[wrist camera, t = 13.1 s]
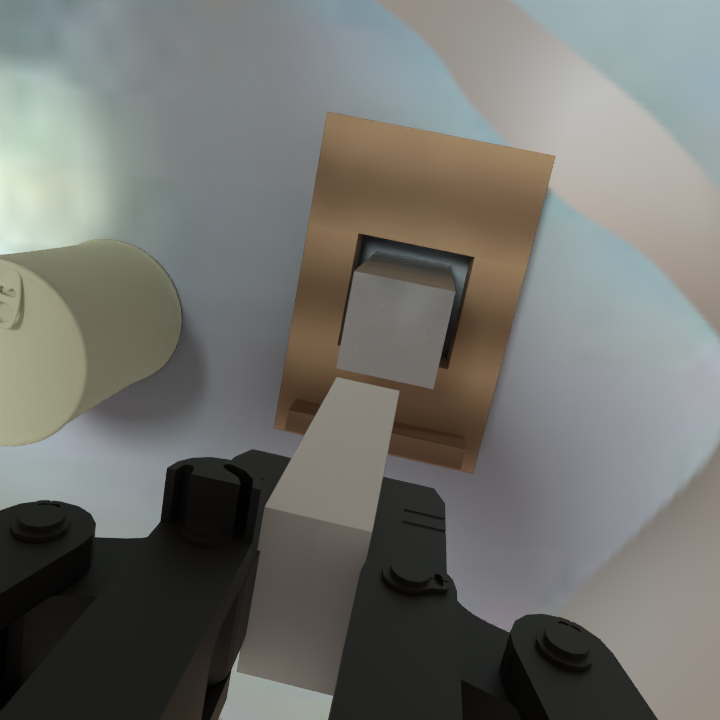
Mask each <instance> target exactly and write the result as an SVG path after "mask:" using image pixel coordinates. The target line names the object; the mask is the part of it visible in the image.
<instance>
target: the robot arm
mask: <svg viewBox="0 0 720 720" xmlns="http://www.w3.org/2000/svg"><path fill="white" fill-rule="evenodd" d="M398 396H399V391H398V390H393V389H389V388H384V387H380V386H375V385H371V384H366V383H361V382H357V381H352V380H348V379H343V378H339V377H337V378H336V379H335V381H334V383H333V385H332V387H331V388H330V390H329V392H328V394H327V396H326V397H325V399H324V401H323V403H322V405H321V406H320V408H319V410H318V412H317V414H316V415H315V417H314V419H313V421H312V423H311V424H310V426H309V428H308V430H307V432H306V433H305V435H304V437H303V439H302V441H301V442H300V444H299V446H298V448H297V450H296V451H295V453H294V455H293V457H292V458H289V457H284V456H280V455H276V454H271V453H267V452H263V451H258V450H254V449H252V450H250V451H247V452H245V453H243V454H240V455H238V456H236V457H234V458H233V459H232V460H227V459H220V458H213V457H203V458H190V459H186V460H182V461H178V462H176V463H175V464H173V465H171V466H170V467H168V468H167V473H166V481H165V489H164V497H163V505H162V514H161V522H160V523H159V524H158V525H157V526H156V528H155V529H154V530H153V531H152V532H151V534H150V535H149V536H148V537H145V538H129V539H123V538H97V537H95V527H96V523H95V521H94V519H93V517H92V515H91V514H90V513H88V512H87V511H85V510H84V509H82V508H80V507H79V506H75V505H71V504H68V503H64V502H60V501H50V500H40V501H36V502H29V503H22V504H18V505H15V506H12V507H9V508H6V509H3V510H1V511H0V720H218V718H219V716H220V713H221V711H222V708H223V706H224V704H225V701H226V699H227V693H228V687H229V681H230V675H231V669H232V667H233V664H234V662H235V660H236V657H237V655H238V653H239V651H240V655H239V661H238V667H237V672H240V673H244V674H248V675H252V676H256V677H260V678H264V679H268V680H272V681H276V682H280V683H284V684H288V685H292V686H296V687H300V688H304V689H308V690H312V691H316V692H320V693H324V694H328V695H332V696H333V700H332V705H331V709H330V714H329V718H328V720H658V719H657V718H656V716H655V715H654V713H653V712H652V710H651V709H650V707H649V706H648V704H647V703H646V702H645V700H644V698H643V697H642V696H641V694H640V693H639V691H638V690H637V688H636V687H635V686H634V684H633V682H632V681H631V679H630V678H629V677H628V675H627V674H626V672H625V671H624V669H623V668H622V666H621V665H620V663H619V662H618V660H617V659H616V657H615V656H614V654H613V653H612V652H611V651H610V650H609V649H608V648H607V647H606V645H605V644H604V643H603V642H602V641H601V640H600V639H599V638H597V637H596V636H594V635H593V634H592V633H590V632H589V631H587V630H586V629H584V628H583V627H582V626H580V625H578V624H576V623H574V622H570V621H569V620H567V619H564V618H561V617H555V616H550V615H545V614H534V615H526V616H524V617H522V618H520V619H518V620H516V621H515V622H514V625H513V627H512V629H511V631H510V633H509V632H507V631H505V630H502V629H500V628H498V627H496V626H494V625H492V624H489V623H487V622H486V621H484V620H482V619H480V618H478V617H476V616H475V615H473V614H472V613H471V612H469V611H468V610H467V609H465V608H464V607H463V606H462V605H461V604H460V603H459V602H458V601H457V590H456V588H455V585H454V582H453V580H452V579H451V577H450V576H449V575H448V574H447V566H446V534H445V531H446V526H445V503H444V502H443V500H442V499H441V498H440V496H439V495H438V494H437V492H436V491H435V489H434V488H429V487H425V486H421V485H416V484H412V483H408V482H403V481H399V480H394V479H390V478H386V477H383V474H384V469H385V464H386V458H387V453H388V448H389V443H390V438H391V433H392V427H393V422H394V417H395V412H396V407H397V402H398ZM240 648H241V650H240Z"/></svg>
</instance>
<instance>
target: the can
mask: <svg viewBox="0 0 720 720" xmlns="http://www.w3.org/2000/svg"><path fill="white" fill-rule="evenodd" d="M181 325H182V314H181V306H180V301H179V298H178V294H177V292H176V289H175V287H174V285H173V283H172V281H171V279H170V278H169V276H168V275H167V273H166V272H165V271H164V269H163V268H162V267H161V266H160V265H159V264H158V263H157V262H156V261H155V260H154V259H153V258H152V257H151V256H150V255H148V254H147V253H145V252H144V251H142V250H140V249H139V248H137V247H135V246H133V245H130V244H128V243H124V242H121V241H116V240H108V239H100V240H92V241H87V242H84V243H81V244H78V245H75V246H68V247H62V248H54V249H46V250H39V251H31V252H23V253H14V254H5V255H0V446H22V445H27V444H32V443H36V442H39V441H41V440H44V439H46V438H48V437H50V436H51V435H53V434H55V433H56V432H58V431H59V430H60V429H61V428H62V427H64V426H65V425H66V424H67V423H69V422H70V421H72V420H74V419H75V418H77V417H78V416H80V415H81V414H83V413H85V412H86V411H88V410H89V409H91V408H92V407H94V406H96V405H97V404H99V403H101V402H102V401H104V400H105V399H107V398H109V397H110V396H112V395H114V394H115V393H117V392H119V391H120V390H122V389H124V388H125V387H127V386H129V385H130V384H132V383H134V382H136V381H139V380H142V379H144V378H147V377H149V376H150V375H152V374H154V373H155V372H157V371H158V370H159V369H160V368H161V367H163V366H164V364H165V363H166V362H167V361H168V360H169V358H170V357H171V356H172V354H173V352H174V350H175V348H176V346H177V343H178V341H179V337H180V333H181Z"/></svg>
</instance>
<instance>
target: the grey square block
mask: <svg viewBox="0 0 720 720" xmlns="http://www.w3.org/2000/svg"><path fill="white" fill-rule="evenodd" d="M455 293H456V291H455V286H454V281H453V276H452V271H451V266H449V265H444V264H439V263H434V262H429V261H424V260H419V259H414V258H409V257H405V256H400V255H395V254H390V253H385V252H380V251H377V252H375V253H374V254H373V255H372V256H371V257H370V258H369V259H368V260H366V261H365V262H364V263H363V264H362V265H361V266H360V267H358V268H357V269H356V270H355V271H354V275H353V281H352V286H351V291H350V297H349V302H348V308H347V313H346V318H345V324H344V329H343V334H342V340H341V345H340V350H339V356H338V361H337V367H336V368H337V369H342V370H346V371H351V372H356V373H360V374H365V375H369V376H374V377H379V378H383V379H388V380H393V381H397V382H402V383H407V384H411V385H416V386H421V387H425V388H430V389H434V384H435V380H436V375H437V371H438V367H439V362H440V358H441V354H442V349H443V345H444V341H445V336H446V332H447V328H448V323H449V319H450V314H451V310H452V306H453V301H454V297H455Z"/></svg>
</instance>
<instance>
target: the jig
mask: <svg viewBox="0 0 720 720" xmlns="http://www.w3.org/2000/svg"><path fill="white" fill-rule="evenodd" d="M554 160H555V156H553V155H548V154H542V153H538V152H532V151H527V150H522V149H517V148H512V147H507V146H501V145H496V144H491V143H486V142H481V141H476V140H471V139H465V138H460V137H455V136H450V135H445V134H440V133H434V132H429V131H424V130H419V129H414V128H409V127H403V126H398V125H393V124H388V123H383V122H378V121H373V120H367V119H362V118H357V117H352V116H347V115H342V114H336V113H331V112H327V116H326V122H325V128H324V134H323V140H322V146H321V152H320V158H319V164H318V170H317V176H316V182H315V187H314V193H313V199H312V205H311V211H310V217H309V223H308V229H307V235H306V241H305V247H304V253H303V259H302V265H301V270H300V276H299V282H298V288H297V294H296V300H295V306H294V312H293V318H292V324H291V330H290V336H289V342H288V347H287V353H286V359H285V365H284V371H283V377H282V383H281V389H280V395H279V401H278V407H277V413H276V419H275V425H274V429H278V430H283V431H287V432H292V433H296V434H300V435H305V433H306V432H307V430H308V428H309V426H310V424H311V423H312V421H313V419H314V417H315V415H316V414H317V412H318V410H319V408H320V406H321V405H322V403H323V401H324V399H325V397H326V396H327V394H328V392H329V390H330V388H331V387H332V385H333V383H334V381H335V379H336V378H337V377H339V378H343V379H348V380H352V381H357V382H361V383H366V384H371V385H375V386H380V387H384V388H389V389H393V390H398V391H399V396H398V402H397V407H396V412H395V417H394V422H393V427H392V433H391V438H390V443H389V448H388V453H387V454H389V455H393V456H397V457H402V458H406V459H411V460H415V461H419V462H424V463H428V464H433V465H437V466H442V467H446V468H450V469H455V470H459V471H464V472H468V473H472V474H473V471H474V467H475V463H476V459H477V456H478V452H479V448H480V444H481V440H482V436H483V433H484V429H485V425H486V421H487V417H488V413H489V410H490V406H491V402H492V398H493V394H494V390H495V387H496V383H497V379H498V375H499V371H500V367H501V364H502V360H503V356H504V352H505V348H506V344H507V341H508V337H509V333H510V329H511V325H512V321H513V318H514V314H515V310H516V306H517V302H518V298H519V294H520V291H521V287H522V283H523V279H524V275H525V271H526V268H527V264H528V260H529V256H530V252H531V248H532V245H533V241H534V237H535V233H536V229H537V225H538V222H539V218H540V214H541V210H542V206H543V202H544V199H545V195H546V191H547V187H548V183H549V179H550V176H551V171H552V168H553V164H554ZM364 234H365V235H370V236H375V237H379V238H384V239H389V240H394V241H399V242H404V243H409V244H414V245H418V246H423V247H428V248H433V249H438V250H443V251H448V252H452V253H457V254H462V255H467V256H471V258H470V263H469V267H468V271H467V275H466V280H465V284H464V288H463V292H462V296H461V301H460V305H459V309H458V313H457V318H456V322H455V326H454V330H453V334H452V339H451V343H450V347H449V351H448V355H447V357H445V356H441V358H440V362H439V367H438V371H437V375H436V380H435V384H434V389H430V388H425V387H421V386H416V385H411V384H407V383H402V382H397V381H393V380H388V379H383V378H379V377H374V376H369V375H365V374H360V373H356V372H351V371H346V370H342V369H337V368H336V367H337V361H338V356H339V350H340V345H341V340H342V334H343V329H344V324H345V318H346V313H347V308H348V302H349V297H350V291H351V286H352V281H353V275H354V271H355V270H356V269H357V267H358V262H359V257H360V251H361V246H362V241H363V236H364Z"/></svg>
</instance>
